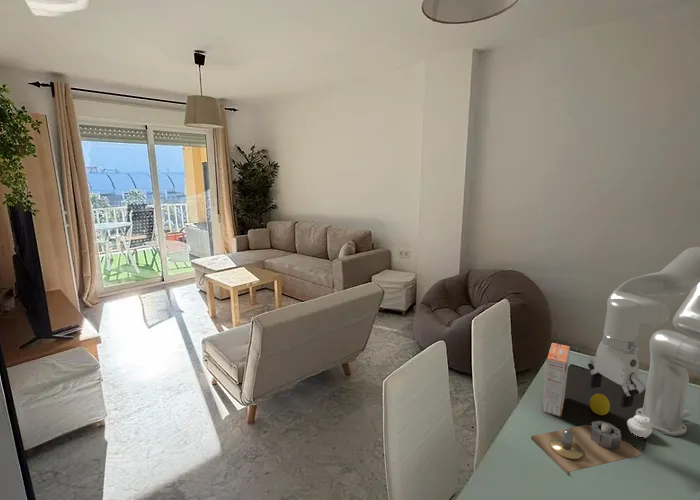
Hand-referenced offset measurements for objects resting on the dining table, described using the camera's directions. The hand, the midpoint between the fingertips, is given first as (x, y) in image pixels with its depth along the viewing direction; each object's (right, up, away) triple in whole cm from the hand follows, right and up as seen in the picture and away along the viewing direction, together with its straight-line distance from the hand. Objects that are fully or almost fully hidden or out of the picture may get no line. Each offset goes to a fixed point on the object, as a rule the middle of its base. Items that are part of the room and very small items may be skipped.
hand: (610, 396), depth 103 cm
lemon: (+8, -13, +16) cm, 22 cm away
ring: (+1, -15, +3) cm, 15 cm away
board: (-6, -16, +2) cm, 17 cm away
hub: (-13, -17, 0) cm, 21 cm away
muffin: (+13, -15, +6) cm, 21 cm away
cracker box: (-4, -12, +21) cm, 25 cm away
